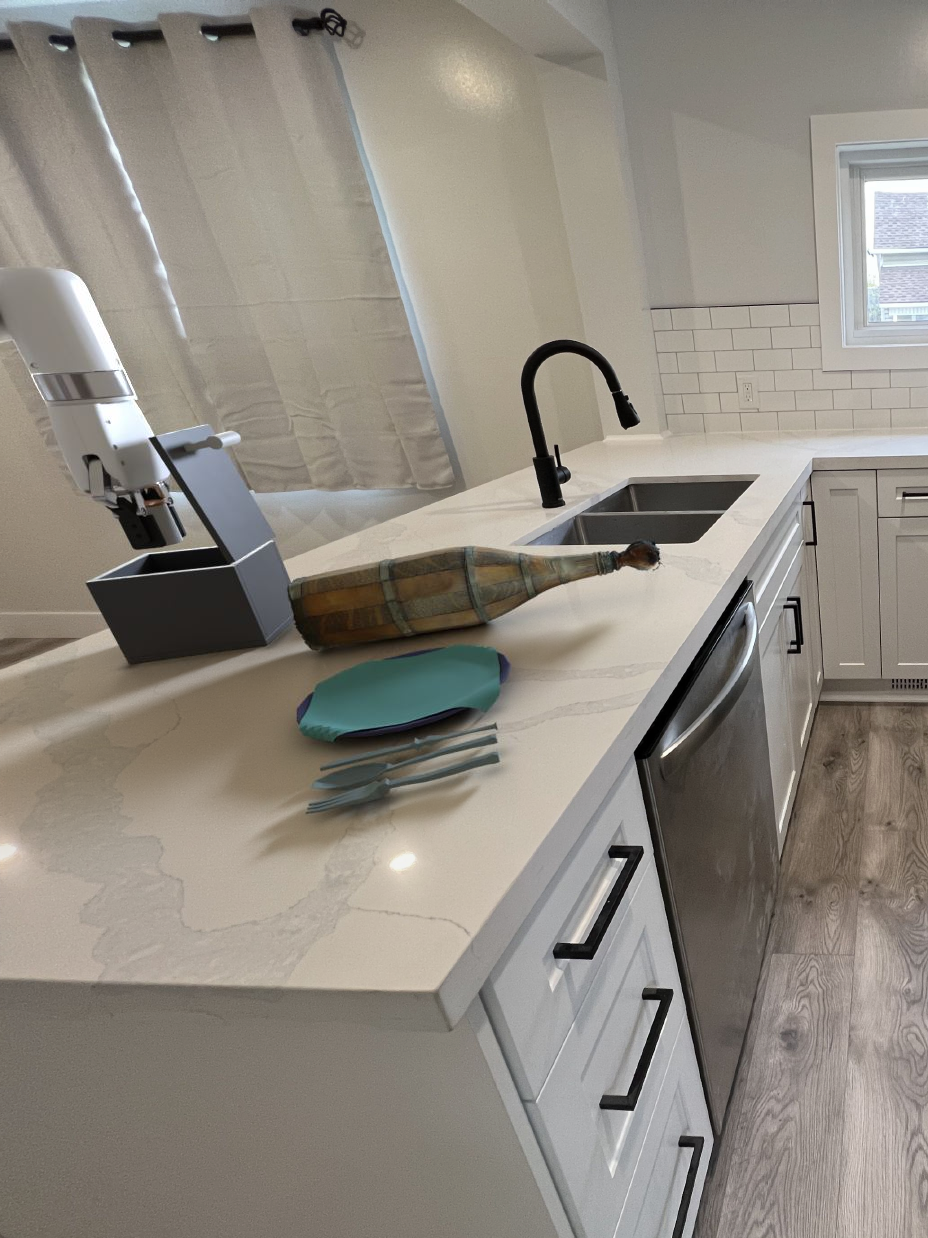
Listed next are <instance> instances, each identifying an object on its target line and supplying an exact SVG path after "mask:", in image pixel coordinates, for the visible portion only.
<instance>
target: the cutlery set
mask: <svg viewBox="0 0 928 1238" xmlns="http://www.w3.org/2000/svg"><path fill="white" fill-rule="evenodd" d="M511 668H512V666H511V662H510V661H509V660H508V658H507V656H506V655H505V654H503V653H501V652H499V651H498V648H495V647H492V646H485V645H477V644H474V645H473V644H471V643H470V644H469V643H468V644H465V643H460V644H454V645H450V646H444V647H436V648H429V649H423V650H422V649H421V650H415V651H410V652H407V653H403V654H398V655H394V656H390V657H386V658H382V659H377V660H376V659H375V660H368V661H364V662H361V663H359V664H356V665H354V666H352V667H350V668H347V669H345V670H343V671H340V672H338V673H336V674H334V675H332V676H330V677H328V678H326V679H324V680H321V681H320V682H318V683H316V685H314V689H313V691H312V692H311V693H309V694H308V695H307V696H306V697H305V698H304V700H302V702H301V703H300V704H299V706H298V707H297V708H296V723H297V724H298V725H299V726H298V730H299V731H300V732H301V734H302V735H303V736H304V737H307V738H309V739H316V740H324V741H326V742H331V743H333V744H334V743H336V741H337V739H338V738H357V737H372V736H377V735H384V734H390V733H396V732H402V731H407V730H410V729H414V728H417V727H420V726H423V725H427V724H431V723H435V722H437V721H440V720H442V719H445V718H447V717H449V716H451V715H454V714H457V713H459V712H461V711H463V710H465V709H467V708H471V709H475V710H477V711H480V712H483V713H487V712H488V711H489V710H490V709H491V708H492V706H493V705H494V704H495V703H496V701H497V699H498V697H499V696H500V693H501V692H500V691H501V685H502V684H503V683H504V682H506V680H507V679H508V677H509V674H510V670H511ZM491 730H496V731H499V727H498V723H497V721H495V722H494V723H493V724H488V725H485V726H482V727H478V728H475V729H474V728H473V729H471V730H470V729H469V730H464V731H457V732H453V733H449V734H445V735H436V734H435V735H434V734H433V735H427V736H426V737H425V738H423V739H418V738H417V737H414V740H413V742H411V743H406V744H400V745H395V746H389V747H385V748H380V749H377V750H376V749H375V750H373V751H367V752H363V753H359V754H355V755H352V756H347V757H342V758H339V759H335V760H333V761H330V762H327V763H326V764H323V765H321V766H320V767H319V771H320V772H324V771H328V770H333V769H336V768H341V767H344V766H349V765H351V766H349V767H346V768H343V769H339V770H336V771H333V772H330V773H327V774H326V775H324V776H322V777H320V778H318V779H316V780H313V781H312V784H311V787H310V788H311V789H316V790H327V791H340V790H347V789H348V791H345V792H342V793H340V794H337V795H335V796H332V797H328V798H323V799H321V800H316V801H312V802H308V806H307V807H306V811H305V814H306V815H310V814H317V813H323V812H326V811H331V810H334V809H338V808H341V807H346V806H352V805H358V804H362V803H366V802H370V801H374V800H378V799H380V798H383V797H386V796H387V795H389V794H390V792H391V789H395V788H400V787H406V786H411V785H417V784H423V783H428V782H432V781H436V780H441V779H443V778H447V777H450V776H453V775H457V774H458V775H459V774H461V773H464V772H466V771H470V770H473V769H477V768H481V767H485V766H489V765H497V764H498V763H500V762H501V758H500V755H499V752H498V751H497V750H496V751H491V752H489V753H486V754H483V755H479V756H475V757H472V758H469V759H466V760H463V761H460V762H457V763H455V764H452V765H448V766H446V767H443V768H439V769H436V770H433V771H428V772H425V773H422V774H416V775H410V776H405V777H400V778H397V779H392V780H390V779H389V778H388V777H385V778H384V779H382V780H380V781H378V780H376V779H378V778H379V777H381V776H382V775H385V774H386V773H389V772H392V771H396V770H398V769H399V770H400V769H402V768H405V767H408V766H411V765H414V764H415V765H416V764H418V763H422V762H426V761H429V760H432V759H435V758H438V757H442V756H446V755H450V754H454V753H455V754H456V753H459V752H463V751H467V750H472V749H475V748H480V747H486V746H491V745H492V746H493V745H496V744H498V743H499V742H498V737H497V733H491V734H489V735H485V736H482V737H478V738H475V739H471V740H468V741H464V742H460V743H458V744H453V745H450V746H447V747H442V748H439V749H437V750H434V751H432V752H429V753H426V754H423V755H420V756H416V757H413V758H410V759H406V760H404V761H402V762H399V763H397V764H392V763H390V762H378V761H374V762H368V763H362V764H361V762H367V761H369V760H374V759H378V758H382V757H386V756H390V755H394V754H398V753H399V754H400V753H403V752H407V751H411V750H415V752H416V753H419V752H420V749H422V748H424V747H429V748H430V747H431V748H432V747H434V746H435V745H437V744H439V743H441V742H443V741H445V740H450V739H454V738H458V737H463V736H465V735H469V734H475V733H480V732H486V731H491ZM357 763H360V764H357ZM352 764H353V765H352ZM354 764H355V765H354ZM349 789H350V790H349Z"/></svg>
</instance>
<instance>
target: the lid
mask: <svg viewBox="0 0 928 1238" xmlns="http://www.w3.org/2000/svg"><path fill="white" fill-rule="evenodd" d="M148 439H149V440H150V442H151V443H152V445H153V446H154V448H155V450H156V451H157V453H158V454H159V456H160V457H161V459H162V461H163V462H164V464H165V465H166V467H167V468H168V470H169V471H170V476H171V477H172V478H173V480H174V481H175V482H176V484H177V486H178V487H179V488H180V490H181V492H182V493H183V495H184V497H185V498H186V500H187V501H188V503H189V504H190V506H191V507H192V509H193V510H194V512H195V514H196V515H197V517H198V518H199V520H200V521H201V523H202V525H203V526H204V527H205V529H206V531H207V532H208V534H209V535H210V537H211V539H212V541H213V542H214V543H215V546H218V548H219V549H220V551H221V552H222V554H223V556H224V557H225V559H226V560H227V562H228V563H233V562H236V561H237V560H239V559H241V558H242V557H244V556H245V555H247V554H249V553H250V552H252V551H253V550H255V549H257V548H258V547H260V546H261V545H263V544H265V543H266V542H268V541H272V540H273V539H274V538H276V537H277V534H276V533H275V531H274V529H273V528H272V527H271V525H270V523H269V522H268V519H267V518H266V517H265V515H264V513H263V511H262V510H261V508H260V506H259V505H258V503H257V502H256V500H255V498H254V496H253V495H252V493H251V491H250V490H249V488H248V486H247V484H246V483H245V481H244V479H243V478H242V476H241V475H240V473H239V472H238V470H237V468H236V466H235V465H234V463H233V461H232V459H231V458H230V455H228V453H227V451H226V449H225V448H228V447H231V446H235V445H238V444H240V443H241V441H242V437H241V435H240V434H239V433H238V432H236V431H233V430H228V431H224V432H220V433H217V434H216V432H215V431H214V429H213V428H212V426H211V424H210V423H207V424H203V425H202V424H201V425H197V426H194V427H189V428H185V429H180V430H175V431H171V432H167V433H163V434H158V435H154V437H149V438H148Z"/></svg>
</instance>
